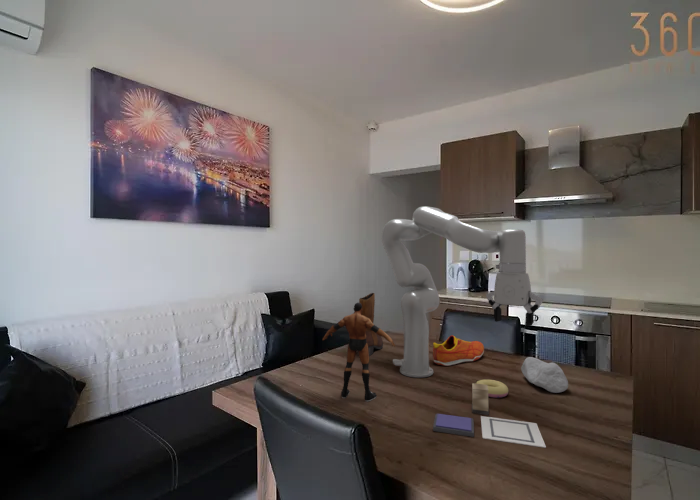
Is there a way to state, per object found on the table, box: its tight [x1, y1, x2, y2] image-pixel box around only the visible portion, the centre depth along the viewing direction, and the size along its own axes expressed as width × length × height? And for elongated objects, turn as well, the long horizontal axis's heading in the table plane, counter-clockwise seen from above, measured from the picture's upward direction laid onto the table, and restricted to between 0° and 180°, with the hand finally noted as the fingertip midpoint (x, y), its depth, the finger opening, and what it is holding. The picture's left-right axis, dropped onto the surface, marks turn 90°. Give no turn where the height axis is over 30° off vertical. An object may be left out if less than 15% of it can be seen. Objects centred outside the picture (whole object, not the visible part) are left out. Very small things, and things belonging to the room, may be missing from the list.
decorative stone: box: [520, 356, 569, 394], centre depth 122 cm, size 17×10×10 cm
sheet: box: [480, 415, 547, 449], centre depth 91 cm, size 14×12×1 cm
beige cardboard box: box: [471, 382, 490, 416], centre depth 103 cm, size 4×4×7 cm
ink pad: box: [432, 413, 475, 438], centre depth 93 cm, size 10×8×1 cm
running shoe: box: [432, 334, 485, 367], centre depth 150 cm, size 10×28×11 cm, turn 124°
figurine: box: [322, 302, 396, 402], centre depth 113 cm, size 24×6×30 cm, turn 71°
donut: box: [475, 379, 509, 399], centre depth 116 cm, size 10×5×9 cm
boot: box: [357, 292, 384, 357], centre depth 167 cm, size 25×9×27 cm, turn 152°
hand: (513, 323), depth 111 cm, fingers open, 9 cm apart
